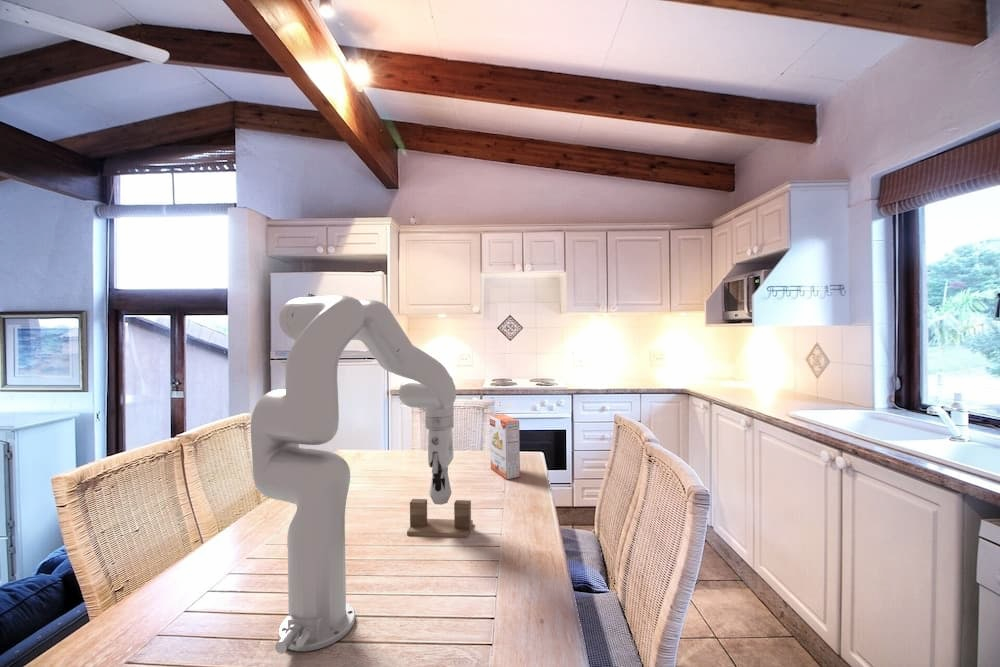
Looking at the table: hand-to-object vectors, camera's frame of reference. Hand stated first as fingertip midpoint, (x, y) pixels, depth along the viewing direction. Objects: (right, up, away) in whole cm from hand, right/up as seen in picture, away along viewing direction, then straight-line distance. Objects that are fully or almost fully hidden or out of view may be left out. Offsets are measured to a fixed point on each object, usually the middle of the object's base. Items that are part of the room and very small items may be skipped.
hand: (440, 489), depth 118 cm
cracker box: (+18, -10, +45) cm, 50 cm away
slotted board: (0, -11, 0) cm, 11 cm away
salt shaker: (0, -3, 0) cm, 3 cm away
